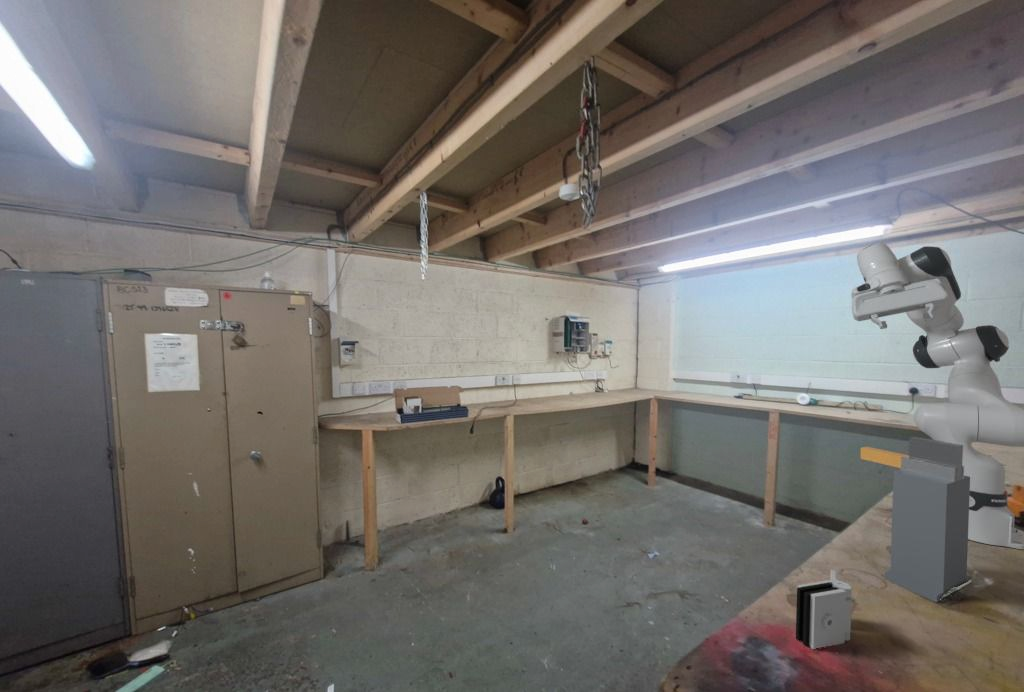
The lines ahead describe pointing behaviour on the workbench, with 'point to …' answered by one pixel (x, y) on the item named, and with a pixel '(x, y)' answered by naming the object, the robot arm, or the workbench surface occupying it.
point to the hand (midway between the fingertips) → (906, 323)
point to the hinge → (823, 612)
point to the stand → (929, 528)
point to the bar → (920, 454)
